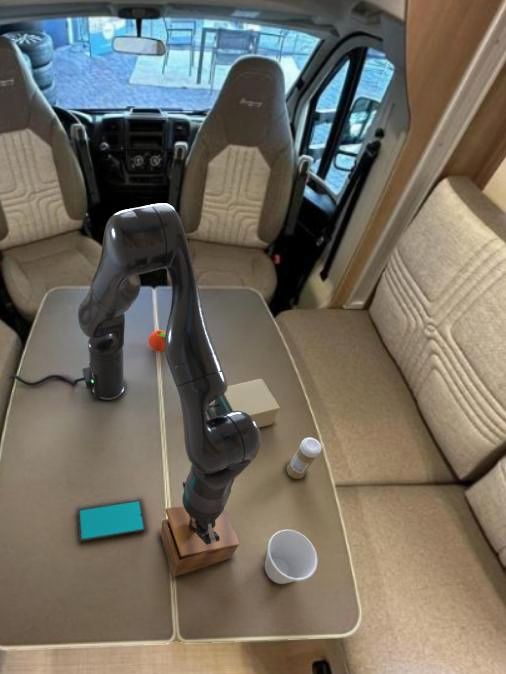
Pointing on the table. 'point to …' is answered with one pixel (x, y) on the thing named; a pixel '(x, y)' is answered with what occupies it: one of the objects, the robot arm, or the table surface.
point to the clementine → (157, 340)
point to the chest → (190, 561)
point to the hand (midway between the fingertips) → (194, 527)
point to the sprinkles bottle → (304, 457)
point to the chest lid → (191, 541)
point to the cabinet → (253, 401)
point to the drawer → (219, 407)
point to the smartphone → (110, 520)
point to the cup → (290, 557)
